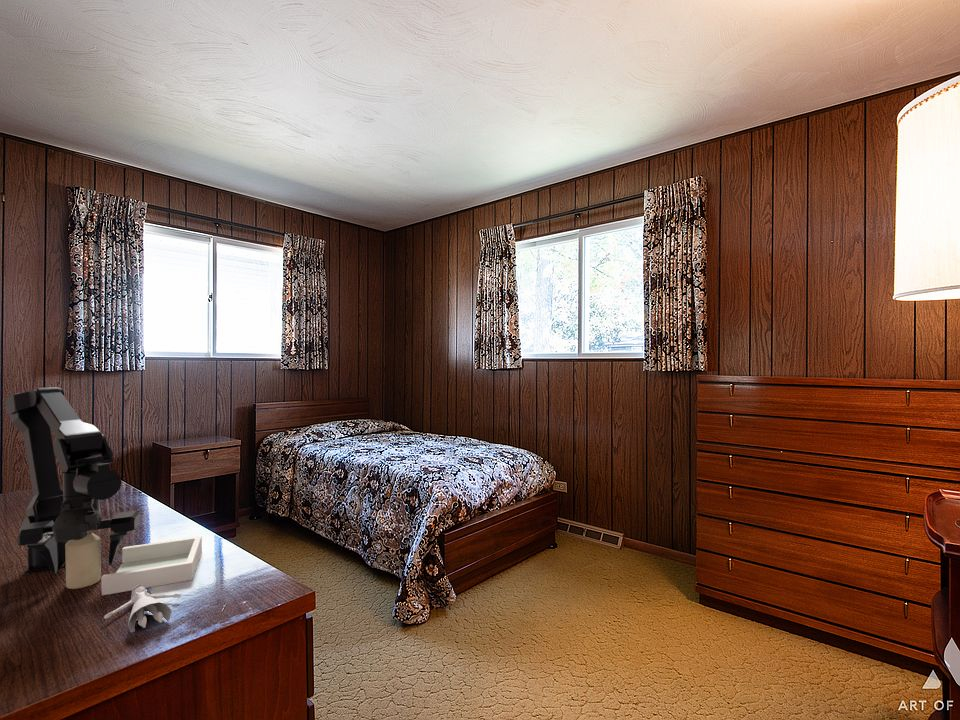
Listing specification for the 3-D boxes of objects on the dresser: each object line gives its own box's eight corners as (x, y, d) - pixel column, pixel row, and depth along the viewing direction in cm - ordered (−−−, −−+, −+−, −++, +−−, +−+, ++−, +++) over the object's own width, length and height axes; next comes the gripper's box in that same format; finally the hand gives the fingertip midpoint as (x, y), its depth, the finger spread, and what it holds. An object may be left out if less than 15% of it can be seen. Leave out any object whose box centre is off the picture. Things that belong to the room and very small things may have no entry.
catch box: (101, 595, 94) (101, 577, 94) (124, 562, 109) (123, 547, 109) (192, 579, 100) (192, 562, 100) (201, 550, 115) (201, 536, 115)
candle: (60, 585, 98) (59, 536, 98) (92, 574, 103) (91, 527, 103) (74, 591, 96) (73, 540, 96) (106, 580, 101) (105, 531, 101)
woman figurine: (108, 621, 77) (99, 589, 90) (108, 650, 77) (100, 613, 90) (192, 596, 84) (172, 570, 98) (193, 623, 84) (173, 592, 98)
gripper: (2, 510, 88) (4, 596, 88) (126, 497, 96) (128, 576, 96) (29, 494, 98) (31, 571, 99) (139, 483, 106) (141, 555, 106)
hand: (83, 568), depth 100 cm, fingers open, 9 cm apart
